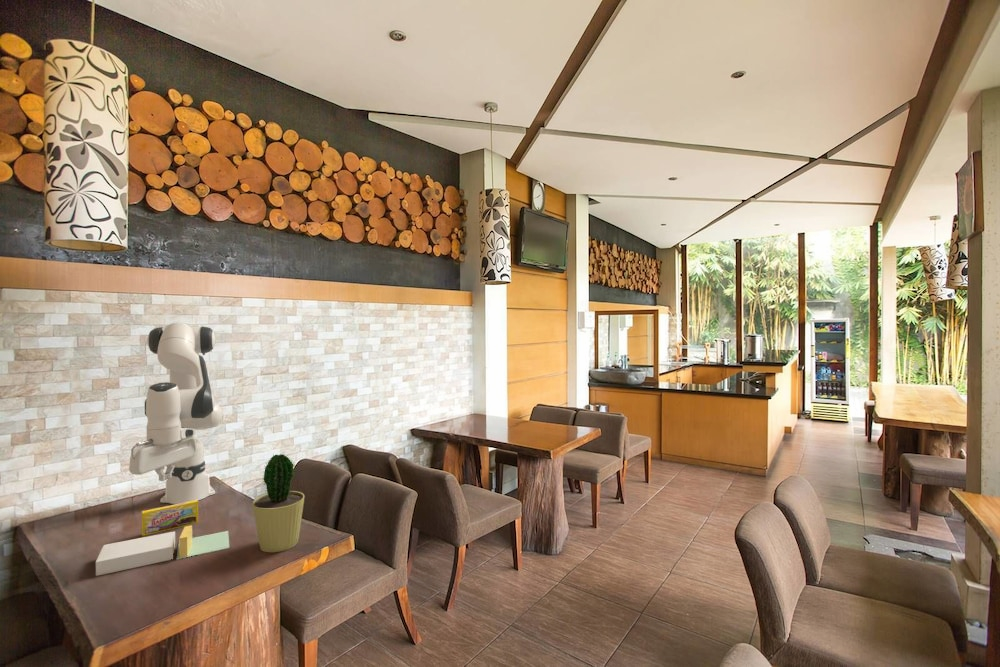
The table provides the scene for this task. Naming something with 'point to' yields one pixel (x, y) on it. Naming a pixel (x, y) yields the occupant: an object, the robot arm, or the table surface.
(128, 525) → the table surface
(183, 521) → the candy box
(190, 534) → the block
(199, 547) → the mat
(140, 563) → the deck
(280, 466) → the potted cactus
